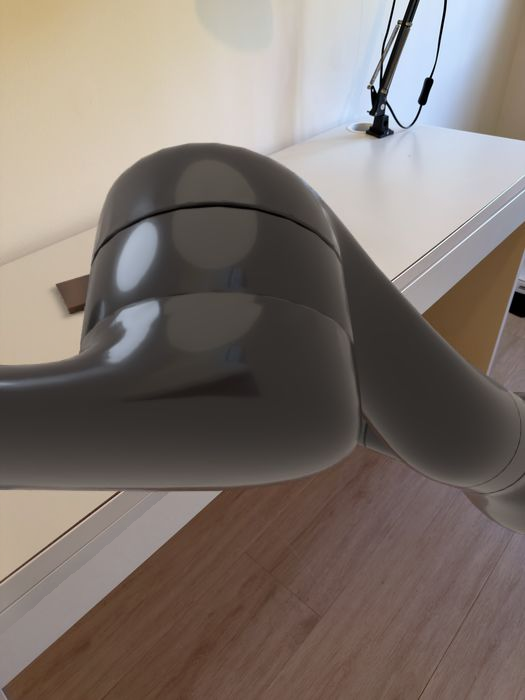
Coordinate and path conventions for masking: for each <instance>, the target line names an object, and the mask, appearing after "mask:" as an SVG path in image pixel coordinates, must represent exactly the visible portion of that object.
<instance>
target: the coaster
mask: <svg viewBox="0 0 525 700" xmlns="http://www.w3.org/2000/svg"><path fill="white" fill-rule="evenodd" d="M89 275H90V273H88V274H85V275H81V276H78V277H75V278H71V279H68V280H64V281H60V282H58V283H55V288H56V290H57V293H58V294H59V296H60V298H61V300H62V302H63V304H64V307H66V310H67V312H68V313H69V314H70V315H71V314H74V313H77V312H80V311H85V310H84V307H85V304H86V297H87V290H88V283H89Z"/></svg>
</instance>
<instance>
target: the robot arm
mask: <svg viewBox="0 0 525 700" xmlns="http://www.w3.org/2000/svg"><path fill="white" fill-rule="evenodd" d="M96 224H97V225H96V230H95V237H94V242H93V248H92V254H91V262H90V268H89V274H90V275H89V283H88V290H87V297H86V304H85V310H84V312H83V319H82V327H81V335H80V342H79V351H78V354H76V355H74V356H70V357H68V358H65V359H62V360H56V361H49V362H42V363H29V364H28V363H27V364H25V363H24V364H0V491H50V492H51V491H54V492H55V491H58V492H59V491H60V492H62V491H63V492H135V493H136V492H140V493H146V492H147V493H162V492H163V493H169V492H171V493H172V492H173V493H174V492H175V493H176V492H224V491H227V492H228V491H239V490H240V491H242V490H251V489H259V488H267V487H268V488H269V487H275V486H283V485H288V484H292V483H295V482H300V481H305V480H308V479H310V478H314V477H317V476H319V475H321V474H323V473H325V472H328V471H330V470H332V469H334V468H336V467H338V466H339V465H340V464H342V463H344V462H345V461H346V460H347V459H348V458H349V457H350V456H351V455H352V454H353V453H354V451H355V450H356V448H357V447H361V448H366V449H367V450H369V451H372V452H374V453H377V454H380V455H383V456H385V457H388V458H390V459H393V460H395V461H396V460H397V461H398V462H400V463H403V464H405V466H407V468H409V469H411V470H412V471H414V472H415V473H416V474H419V475H420V476H422V477H424V478H426V479H428V480H430V481H433V482H436V483H438V484H442V485H445V486H448V487H451V488H453V489H457V490H461V491H462V493H463V495H465V497H466V498H467V499H468V500H469V501H470V503H471V504H472V505H473V506H474V507H475V508H476V509H477V510H478V511H479V512H481V514H482V515H484V516H485V517H486V518H487V519H489V520H491V521H492V522H494V523H495V524H497V525H498V526H500V527H502V528H504V529H506V530H508V531H511V532H513V533H516V534H519V535H522V536H525V391H512V390H510V389H509V388H507V387H506V386H504V385H502V384H501V383H500V382H498V381H497V380H496V379H493V378H492V377H491V376H489V375H487V374H486V373H485V372H484V371H482V370H481V369H479V368H478V367H477V366H475V364H473V363H471V362H470V361H469V360H468V359H467V358H466V357H465V356H464V355H462V353H460V352H459V351H458V350H457V349H456V348H455V347H454V346H453V345H452V344H451V343H450V342H449V341H448V340H447V339H446V338H444V337H443V336H442V335H441V334H440V332H438V331H437V329H435V327H434V326H433V325H432V324H431V323H430V322H429V321H428V320H427V319H426V317H424V315H422V314H421V313H420V312H419V311H418V309H417V308H416V307H415V306H414V305H413V304H412V303H411V301H409V300H408V298H407V297H406V296H405V295H404V294H403V292H401V291H400V289H399V288H398V287H397V286H396V285H395V284H394V283H393V282H392V280H391V279H390V278H389V277H388V276H387V275H386V274H385V272H384V271H382V269H381V268H380V267H379V266H378V265H377V264H376V263H375V261H374V260H373V259H372V257H371V256H370V255H369V253H367V252H366V251H365V249H364V247H362V245H361V244H360V243H359V241H358V240H357V239H356V238H355V236H354V235H353V234H352V232H351V231H350V230H349V228H348V227H347V226H346V224H344V222H343V221H342V220H341V219H340V217H339V216H338V215H337V214H336V213H335V211H334V210H333V209H332V208H331V207H330V205H329V204H327V202H326V201H325V200H324V199H323V198H322V196H320V194H318V192H317V191H316V190H315V189H314V188H313V187H312V186H310V184H309V183H307V181H306V180H305V179H303V177H301V176H299V174H297V173H296V172H294V171H293V170H291V169H290V168H289V167H287V166H286V165H285V164H283V163H281V162H280V161H278V160H276V159H274V158H272V157H270V156H267V155H265V154H262V153H259V152H257V151H254V150H252V149H249V148H247V147H244V146H238V145H233V144H227V143H221V142H188V143H183V144H179V145H173V146H169V147H164V148H161V149H159V150H158V149H157V150H156V151H154V152H152V153H149V154H147V155H145V156H143V157H140V158H139V159H138V160H137V161H135V162H134V163H133V164H131V165H130V166H129V167H128V168H126V169H125V170H124V171H123V172H122V173H121V174H120V175H119V176H118V177H117V178H116V180H114V182H113V184H111V186H110V187H109V190H108V191H107V194H106V197H105V199H104V202H103V205H102V207H101V209H100V213H99V217H98V221H97V223H96Z"/></svg>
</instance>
